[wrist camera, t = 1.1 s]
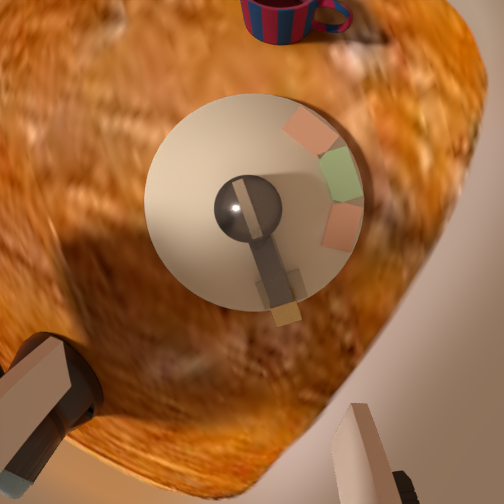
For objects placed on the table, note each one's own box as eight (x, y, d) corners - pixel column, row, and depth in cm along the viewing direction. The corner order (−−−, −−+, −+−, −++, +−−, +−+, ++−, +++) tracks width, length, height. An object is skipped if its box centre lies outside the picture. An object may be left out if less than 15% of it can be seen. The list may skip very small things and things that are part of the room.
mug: (263, -10, 21) (260, -48, 15) (350, 26, 22) (368, -7, 15) (232, 31, 23) (222, -4, 16) (325, 70, 23) (340, 41, 17)
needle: (214, 187, 25) (203, 188, 21) (269, 167, 24) (268, 164, 20) (262, 314, 28) (260, 336, 23) (313, 298, 27) (319, 318, 23)
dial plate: (195, 326, 30) (191, 334, 29) (125, 147, 26) (117, 145, 25) (381, 268, 27) (386, 273, 26) (316, 73, 24) (319, 67, 22)
